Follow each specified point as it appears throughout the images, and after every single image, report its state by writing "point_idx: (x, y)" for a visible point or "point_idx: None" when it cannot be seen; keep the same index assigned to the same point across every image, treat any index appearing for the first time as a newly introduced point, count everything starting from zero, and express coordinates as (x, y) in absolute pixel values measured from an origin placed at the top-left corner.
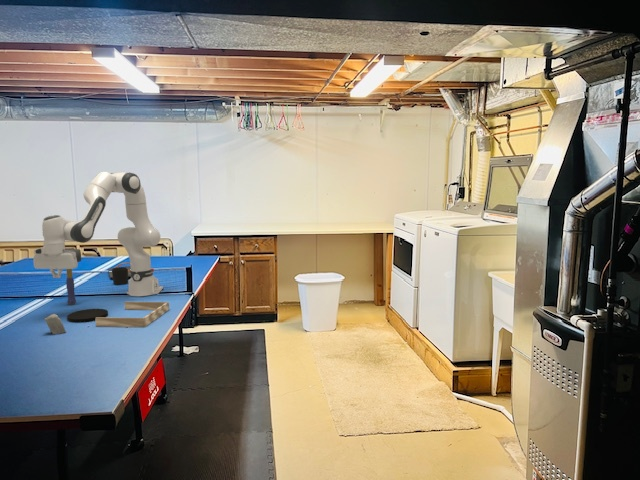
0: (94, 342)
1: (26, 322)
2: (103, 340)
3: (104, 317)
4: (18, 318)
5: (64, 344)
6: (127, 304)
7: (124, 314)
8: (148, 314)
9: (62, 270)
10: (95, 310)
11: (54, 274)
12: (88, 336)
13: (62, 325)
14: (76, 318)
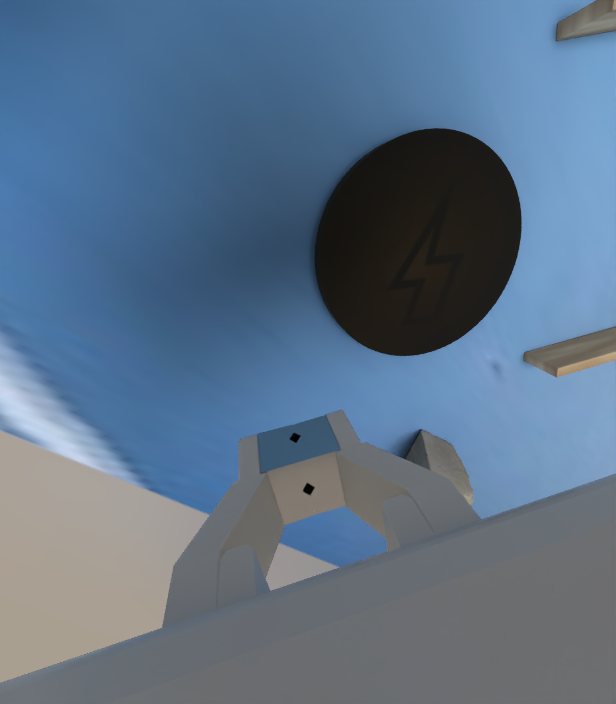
0: (581, 468)
1: (170, 418)
2: (600, 449)
3: (593, 359)
4: (38, 388)
5: (508, 506)
6: (613, 17)
7: (583, 155)
8: None
9: (444, 482)
10: (429, 179)
11: (294, 520)
12: (544, 442)
13: (464, 472)
14: (417, 343)
